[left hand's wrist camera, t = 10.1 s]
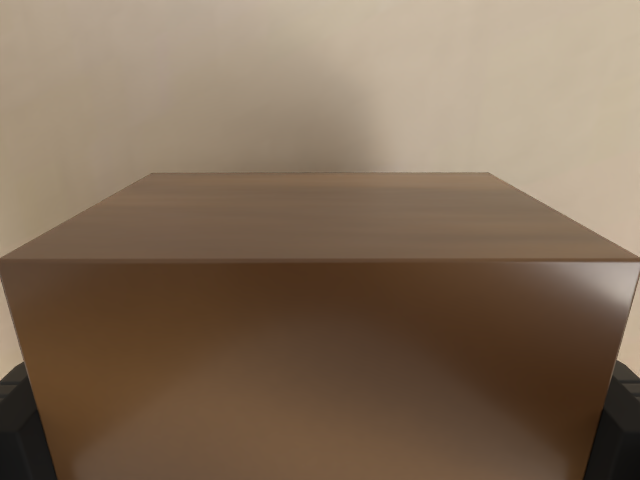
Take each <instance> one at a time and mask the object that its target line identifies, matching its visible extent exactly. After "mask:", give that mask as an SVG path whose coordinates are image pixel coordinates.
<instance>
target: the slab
mask: <svg viewBox="0 0 640 480" xmlns="http://www.w3.org/2000/svg"><path fill="white" fill-rule="evenodd" d="M639 277H640V257H638V256H636V255H634V254H633V253H631V252H629V251H627V250H626V249H624V248H622V247H620V246H618V245H617V244H615V243H613V242H611V241H609V240H608V239H606V238H604V237H602V236H601V235H599V234H597V233H595V232H593V231H592V230H590V229H588V228H586V227H585V226H583V225H581V224H579V223H577V222H576V221H574V220H572V219H570V218H568V217H567V216H565V215H563V214H561V213H560V212H558V211H556V210H554V209H552V208H551V207H549V206H547V205H545V204H544V203H542V202H540V201H538V200H536V199H535V198H533V197H531V196H529V195H527V194H526V193H524V192H522V191H520V190H519V189H517V188H515V187H513V186H511V185H510V184H508V183H506V182H504V181H503V180H501V179H499V178H497V177H495V176H494V175H492V174H490V173H151V174H149V175H148V176H146V177H144V178H142V179H140V180H139V181H137V182H135V183H133V184H132V185H130V186H128V187H126V188H124V189H123V190H121V191H119V192H117V193H115V194H114V195H112V196H110V197H108V198H107V199H105V200H103V201H101V202H99V203H98V204H96V205H94V206H92V207H90V208H89V209H87V210H85V211H83V212H82V213H80V214H78V215H76V216H74V217H73V218H71V219H69V220H67V221H66V222H64V223H62V224H60V225H58V226H57V227H55V228H53V229H51V230H49V231H48V232H46V233H44V234H42V235H41V236H39V237H37V238H35V239H33V240H32V241H30V242H28V243H26V244H25V245H23V246H21V247H19V248H17V249H16V250H14V251H12V252H10V253H8V254H7V255H5V256H3V257H1V258H0V278H1V282H2V285H3V289H4V292H5V296H6V300H7V303H8V307H9V310H10V314H11V317H12V321H13V324H14V328H15V331H16V335H17V339H18V342H19V346H20V349H21V353H22V356H23V360H24V363H25V367H26V371H27V374H28V378H29V381H30V385H31V388H32V392H33V395H34V399H35V403H36V406H37V410H38V413H39V417H40V420H41V424H42V427H43V431H44V435H45V438H46V442H47V445H48V449H49V452H50V456H51V459H52V463H53V467H54V470H55V474H56V477H57V480H583V479H584V475H585V472H586V468H587V464H588V461H589V457H590V454H591V450H592V446H593V443H594V439H595V436H596V432H597V428H598V425H599V421H600V417H601V414H602V410H603V407H604V403H605V399H606V396H607V392H608V389H609V385H610V381H611V378H612V374H613V371H614V367H615V363H616V360H617V356H618V352H619V349H620V345H621V342H622V338H623V334H624V331H625V327H626V324H627V320H628V316H629V313H630V309H631V306H632V302H633V298H634V295H635V291H636V287H637V284H638V280H639Z"/></svg>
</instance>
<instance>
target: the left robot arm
mask: <svg viewBox="0 0 640 480" xmlns="http://www.w3.org/2000/svg"><path fill="white" fill-rule="evenodd" d="M0 480H57V477H56V474H55V470H54V467H53V463H52V459H51V456H50V452H49V449H48V445H47V442H46V438H45V435H44V431H43V427H42V424H41V420H40V417H39V413H38V410H37V406H36V403H35V399H34V395H33V392H32V388H31V385H30V381H29V378H28V374H27V371H26V367H25V363H24V362H22V363H21V364H19V365H17V366H16V367H14V368H13V369H12V370H11V371H10V372H9V373H8V374H7V375H6V376H5V377H4V378H3V379H2V380H1V381H0ZM583 480H640V378H639V377H638V376H636V375H635V374H634V373H633V372H632V371H631V370H630V369H629V368H628V367H627V366H626V365H624V364H623V363H621V362H619V361H617V360H616V363H615V367H614V371H613V374H612V378H611V381H610V385H609V389H608V392H607V396H606V399H605V403H604V407H603V410H602V414H601V417H600V421H599V425H598V428H597V432H596V436H595V439H594V443H593V446H592V450H591V454H590V457H589V461H588V464H587V468H586V472H585V475H584V479H583Z"/></svg>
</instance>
